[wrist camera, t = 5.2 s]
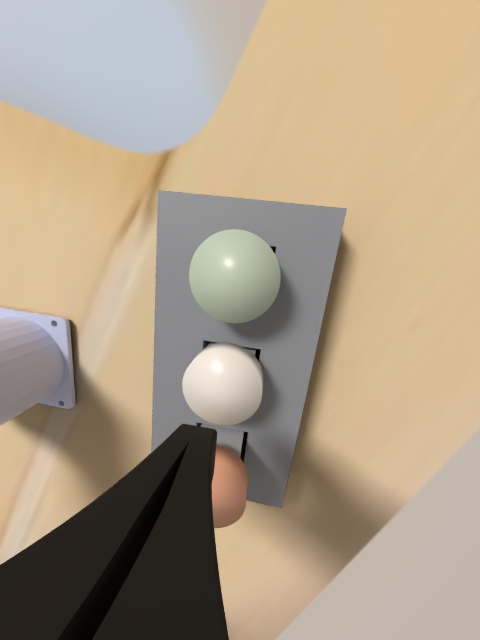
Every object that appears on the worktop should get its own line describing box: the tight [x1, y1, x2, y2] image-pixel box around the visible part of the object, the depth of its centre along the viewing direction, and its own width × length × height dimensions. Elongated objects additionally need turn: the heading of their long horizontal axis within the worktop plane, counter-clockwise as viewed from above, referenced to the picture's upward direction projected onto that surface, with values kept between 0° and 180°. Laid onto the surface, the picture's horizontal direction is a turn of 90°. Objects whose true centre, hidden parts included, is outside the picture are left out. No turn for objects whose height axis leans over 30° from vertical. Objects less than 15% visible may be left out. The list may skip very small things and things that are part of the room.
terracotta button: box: [201, 423, 248, 528], centre depth 15 cm, size 4×4×4 cm
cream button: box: [182, 342, 263, 425], centre depth 15 cm, size 4×4×4 cm
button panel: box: [151, 190, 346, 508], centre depth 16 cm, size 20×10×2 cm, turn 173°
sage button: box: [189, 229, 281, 323], centre depth 13 cm, size 4×4×4 cm
